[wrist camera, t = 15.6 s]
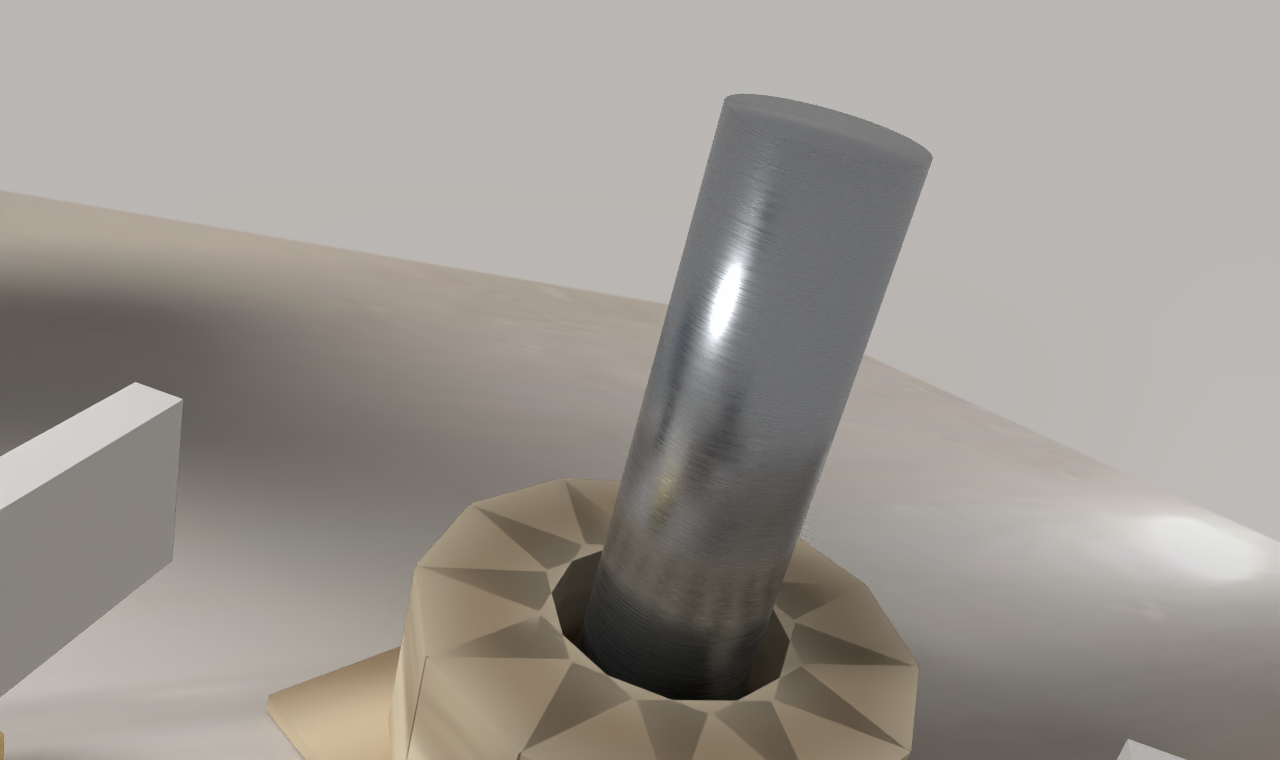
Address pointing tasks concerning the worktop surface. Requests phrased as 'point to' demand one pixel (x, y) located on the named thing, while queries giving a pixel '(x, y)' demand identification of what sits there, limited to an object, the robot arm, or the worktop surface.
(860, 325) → the cylinder
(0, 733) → the square bit
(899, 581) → the worktop surface
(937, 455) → the worktop surface
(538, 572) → the socket block
